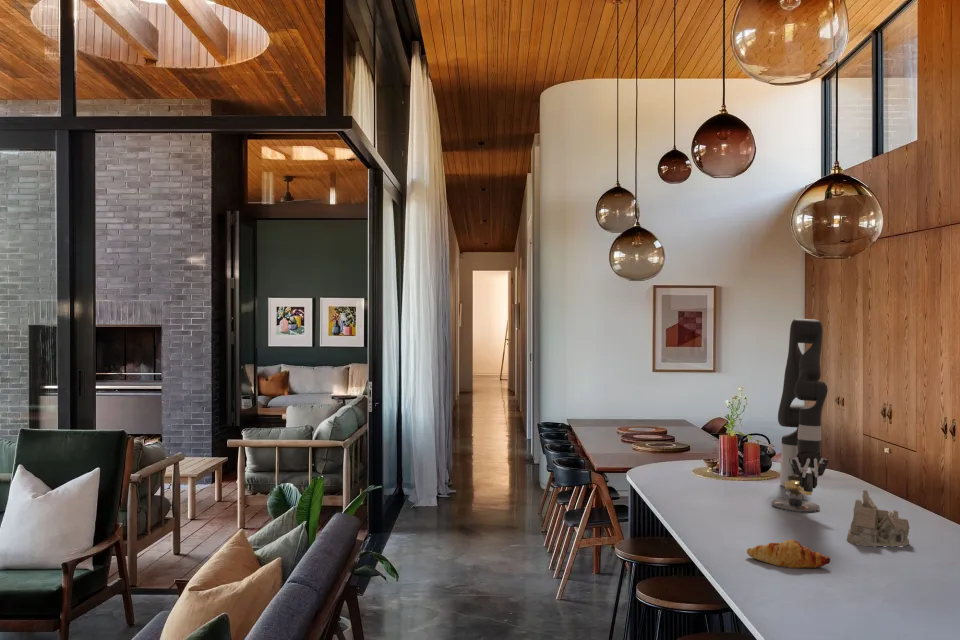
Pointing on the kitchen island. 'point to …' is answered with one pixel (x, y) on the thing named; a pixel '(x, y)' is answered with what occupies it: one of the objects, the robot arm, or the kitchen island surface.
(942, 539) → the kitchen island surface
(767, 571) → the kitchen island surface
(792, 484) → the gold lever handle
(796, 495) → the post base
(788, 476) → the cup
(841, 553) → the kitchen island surface
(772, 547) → the croissant
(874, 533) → the ceramic cottage
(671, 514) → the kitchen island surface
